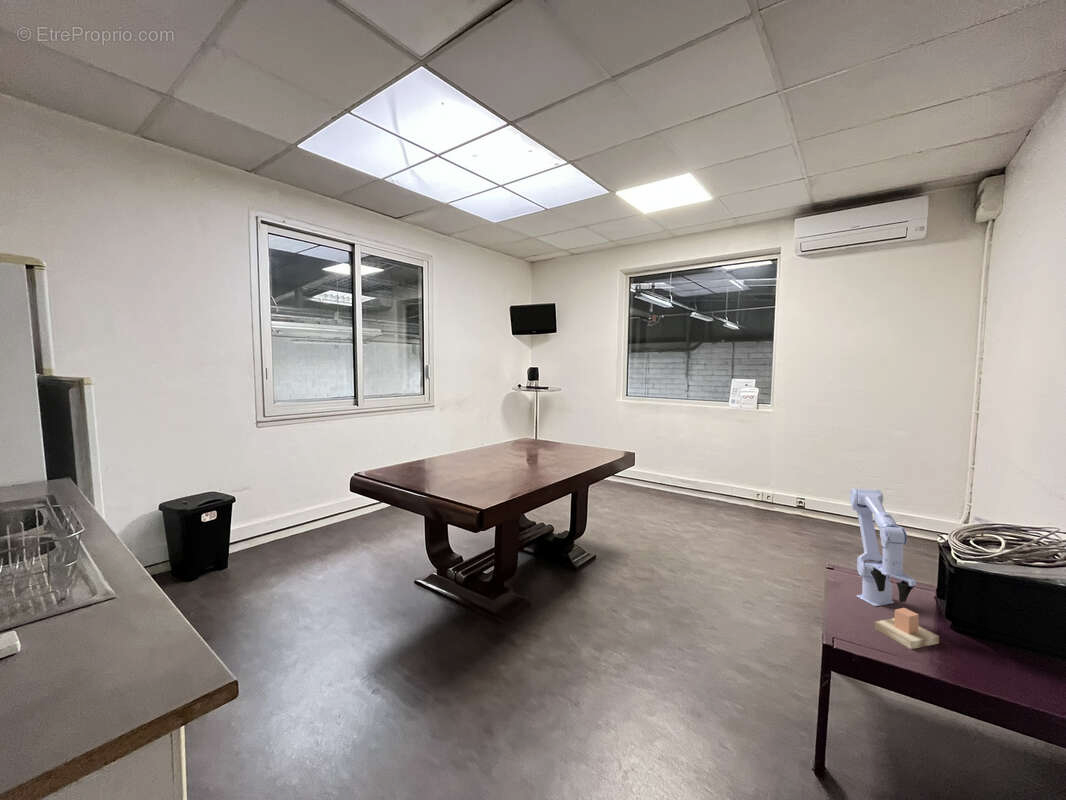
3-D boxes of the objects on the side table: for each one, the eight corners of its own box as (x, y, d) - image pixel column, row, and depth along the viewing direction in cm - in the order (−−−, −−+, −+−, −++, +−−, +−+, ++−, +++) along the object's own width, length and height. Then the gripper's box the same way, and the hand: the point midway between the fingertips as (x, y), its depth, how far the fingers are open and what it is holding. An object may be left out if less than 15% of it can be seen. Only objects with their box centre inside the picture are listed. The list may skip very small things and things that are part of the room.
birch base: (901, 624, 156) (901, 616, 156) (938, 644, 145) (939, 636, 145) (874, 629, 154) (874, 621, 154) (910, 650, 142) (910, 641, 142)
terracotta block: (903, 624, 152) (904, 607, 151) (918, 631, 147) (918, 614, 147) (894, 626, 151) (894, 609, 150) (908, 633, 146) (909, 616, 146)
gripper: (864, 553, 163) (863, 587, 164) (905, 569, 149) (904, 608, 149) (879, 550, 164) (878, 585, 165) (921, 567, 150) (920, 605, 151)
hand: (891, 596), depth 157 cm, fingers open, 7 cm apart
